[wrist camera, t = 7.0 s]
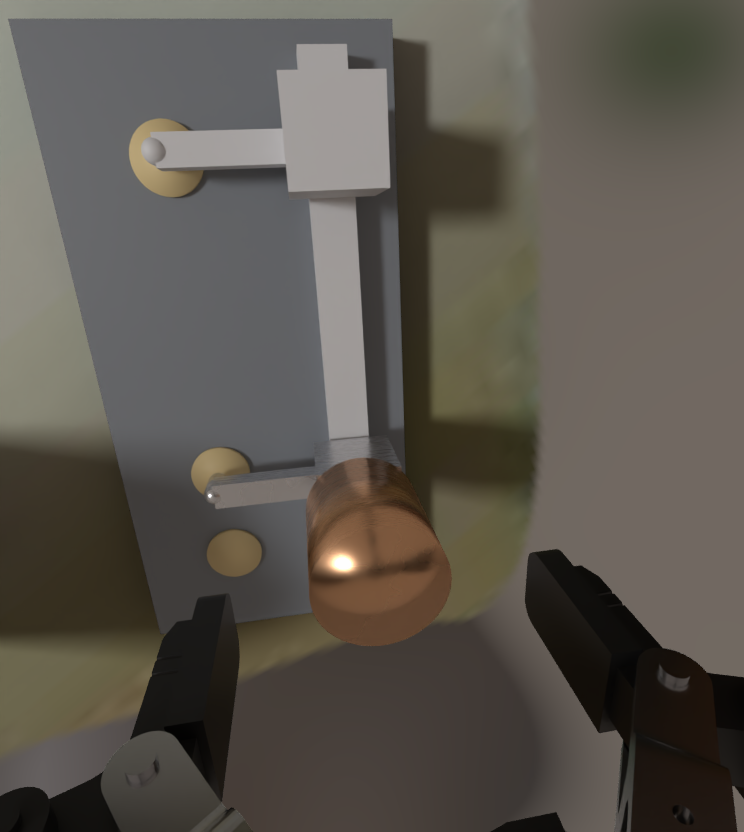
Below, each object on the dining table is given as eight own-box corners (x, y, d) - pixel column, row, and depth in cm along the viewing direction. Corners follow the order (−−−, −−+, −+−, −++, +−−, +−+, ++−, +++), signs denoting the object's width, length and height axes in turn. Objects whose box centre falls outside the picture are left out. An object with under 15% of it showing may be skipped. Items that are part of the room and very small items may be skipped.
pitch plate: (32, 37, 17) (-85, -53, 12) (384, 35, 18) (420, -45, 13) (168, 612, 25) (135, 709, 20) (403, 579, 26) (429, 662, 21)
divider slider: (201, 434, 20) (144, 555, 12) (394, 416, 21) (451, 517, 13) (217, 520, 21) (174, 677, 14) (397, 499, 22) (451, 634, 15)
